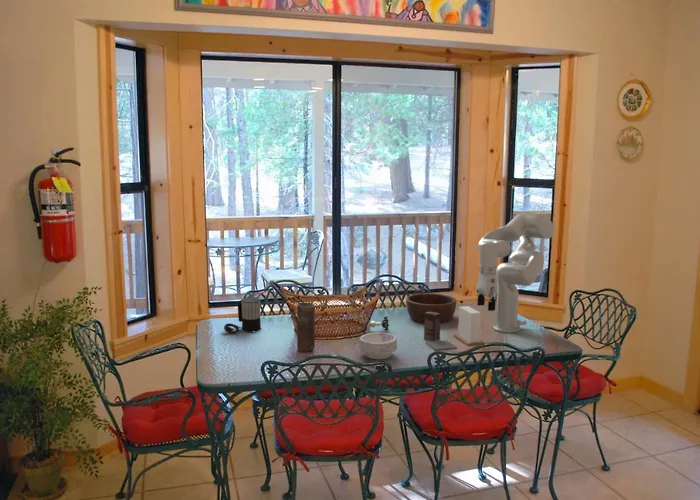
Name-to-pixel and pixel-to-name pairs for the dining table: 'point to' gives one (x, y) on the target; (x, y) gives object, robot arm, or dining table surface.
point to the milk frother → (247, 315)
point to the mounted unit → (469, 326)
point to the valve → (378, 324)
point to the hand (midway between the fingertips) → (486, 307)
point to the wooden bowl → (431, 306)
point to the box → (432, 326)
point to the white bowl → (378, 345)
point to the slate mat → (441, 345)
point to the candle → (305, 327)
